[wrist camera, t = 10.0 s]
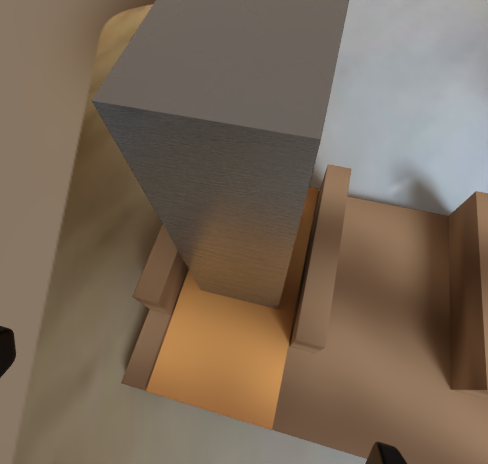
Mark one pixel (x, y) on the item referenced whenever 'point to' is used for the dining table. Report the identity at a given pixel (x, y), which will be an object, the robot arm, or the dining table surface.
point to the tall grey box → (227, 129)
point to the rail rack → (338, 332)
